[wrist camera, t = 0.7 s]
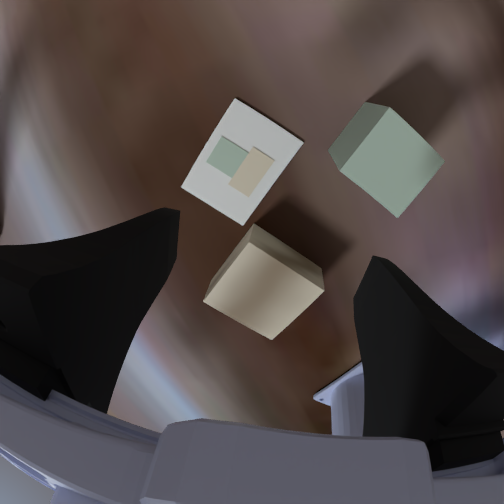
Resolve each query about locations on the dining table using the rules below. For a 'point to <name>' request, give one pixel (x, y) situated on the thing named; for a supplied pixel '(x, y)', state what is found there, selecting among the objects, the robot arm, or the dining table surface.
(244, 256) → the maple base
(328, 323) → the dining table surface
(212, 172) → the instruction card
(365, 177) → the sage block
